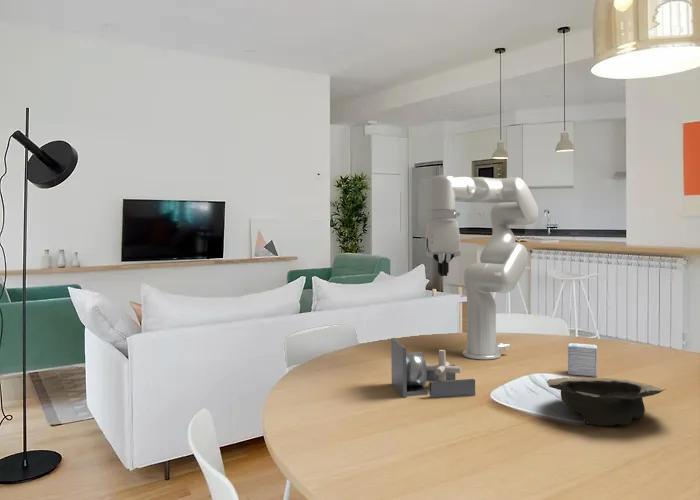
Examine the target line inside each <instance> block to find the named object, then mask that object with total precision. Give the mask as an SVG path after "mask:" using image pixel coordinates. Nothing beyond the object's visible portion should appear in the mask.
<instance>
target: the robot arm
mask: <svg viewBox="0 0 700 500" xmlns="http://www.w3.org/2000/svg"><path fill="white" fill-rule="evenodd" d="M429 182H430V183H429V185H430V187H429V189H430V202H429V203H430V205H429V206H430V220H427V224H426V230H425V243H424V246H425V247H424V248H425V251H426V252H425V256H426V257H428V258H431V259H433V260H435V261H436V263H437V273H438V275H439V276H441V277H447V276H448V274H449V272H450V269H449V265H450V263H451V261H452V260H453V258H456V257H461V233H460V227H459V222H458V220H456V219H457V217H460V213H461V212H459V211H457V210H456V202H459V203H460V202H461V203H484V204H485V203H486V204H493V206H492V208H491V210H490V221H491V229H492V233H491V236H490V238H489V239H488V241H487V243H486V244H485V246H484V247H483V249H482V251H481V253H480V256H479V257H480V258H479V262H475V263H471V264H469V265H467V266H466V268H465V270H464V273H463V281H464V285H465V287H464V288H465V292H466V304H467V305H466V326H467V327H466V339H467V341H466V343H467V344H466V345H467V347H466V349H464V350H463V351H462V356H463V357H465V358H468V359H473V360H494V359H499V358H500V357H501V355H502V354H501V351H502V350H504V351H505V350H506V351H507V350H508V351H509V350H510V349H511V346H510V344H509V343H502V342H501V343H499V342H497V338H496V337H497V324H496V323H497V312H496V311H497V305H496V301H495V299H494V297H493V295H492V294H491V293H501V294H506V293H507V294H508V293H510V292H512V291H513V290H514V289H515V288H516V285H517V284H518V282H519V280H520V279H521V277H522V275H523V273H524V272H525V269H526V267H527V265H528V260H529V259H528V258H529V253H528V250H527V247H526V246H525V245H524V244H522V243H518V242H516V237H515V234H514V232H513V231H512V229H511V228H510V226H511V225H512V226H513V225H514V226H517V225H519V226H520V225H521V226H522V225H524V226H526V225H533V224H534V223H535V222H536V221H537V220H538V218H539V215H540V214H539V207H538V204H537V202H536V200H535V198H534V196H533V194H532V192H531V190H530V188H529V187H528V185H527V183H526V182H525V181H524V180H523V179H522V178H520V177H517V176H514V177H506V178H505V177H504V178H494V177H484V176H475V177H474V176H473V177H472V176H471V177H470V176H467V175H458V176H452V175H448V174H442V175H440V174H439V175H434V176H432V177H431V178H430V181H429ZM509 225H510V226H509Z"/></svg>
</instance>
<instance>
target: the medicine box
mask: <svg viewBox="0 0 700 500" xmlns="http://www.w3.org/2000/svg"><path fill="white" fill-rule="evenodd" d="M567 375H574V376H581V377H592V378H598V377H597V376H598V346H597V344H586V343H575V342H574V343H568V345H567Z"/></svg>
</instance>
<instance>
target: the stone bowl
mask: <svg viewBox="0 0 700 500" xmlns="http://www.w3.org/2000/svg"><path fill="white" fill-rule="evenodd" d="M546 384H547V385H548V387H549V388H553V389H556V390H558V391H560V398H561V400H562V402H563V404H565V405H566V406H567V407H570V409H572V410H573V412H576V413H580V414H582V417H583V421H584V423H585V422H588V423H586V424H588V425H590V426H591V425H593V426H594V425H597V426H600V427H601V426H602V427H603V426H606V427H610V426H615V425H621V426H623V425H624V426H625V425H628V424H630V423H631V422H632V420H640V419H642V418H643V417H644V414H645V412H646V409H645V404H644V399H643V398H645V397H651V396H655V395H658V394H660V393H662V392H664V391H665V390H667V389H666V388H663V389H661V388H660V387H657V386H653V385H651V384H647V383H645V382H644V383H642V382H639V381H632V380H628V379H618V378H611V377H610V378H609V377H607V378H606V377H591V376H579V377H578V376H577V377H576V376H575V377H572V376H570V377H560V378H559V377H558V378H553V379H552V378H551V379H548V380H547V381H546Z"/></svg>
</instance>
